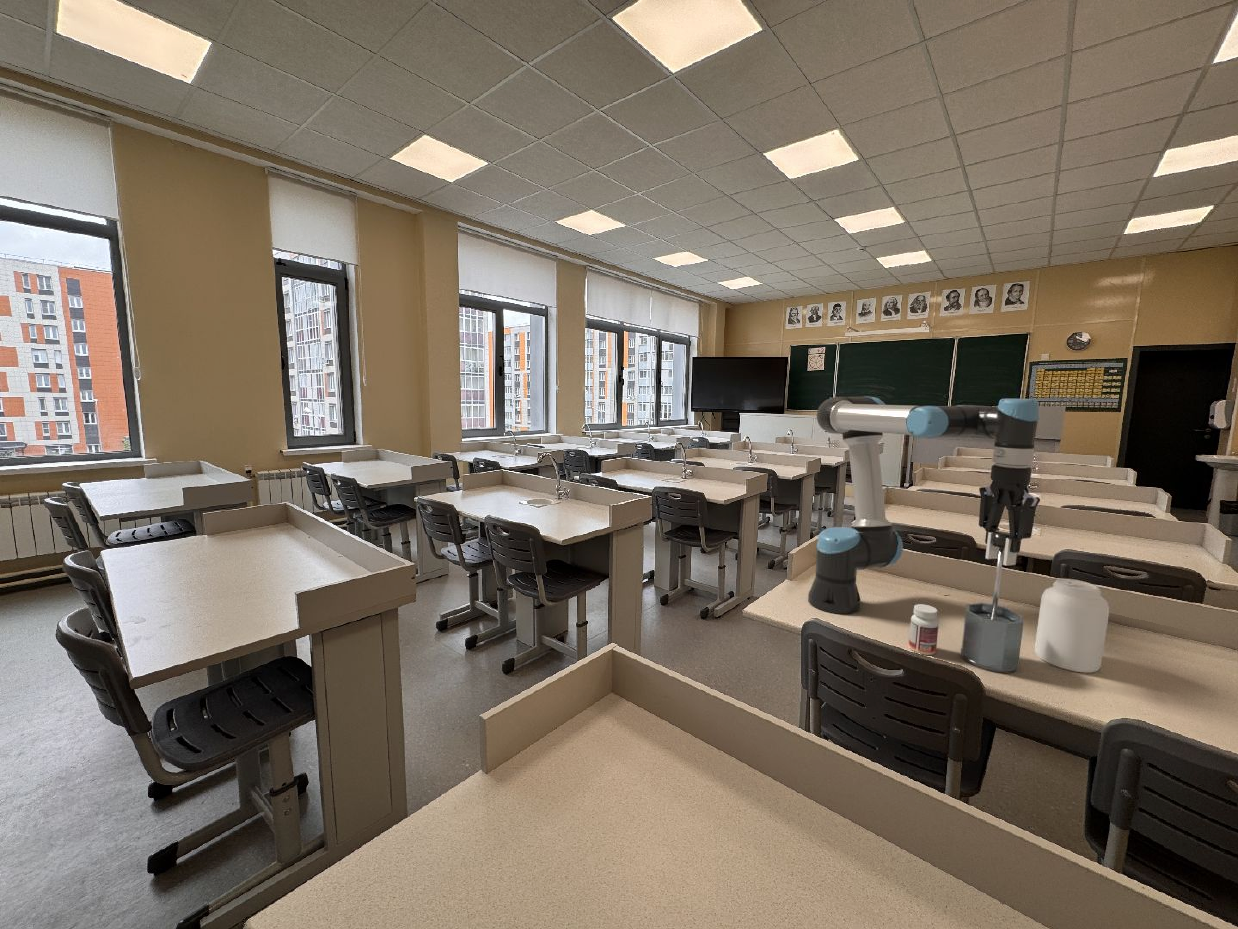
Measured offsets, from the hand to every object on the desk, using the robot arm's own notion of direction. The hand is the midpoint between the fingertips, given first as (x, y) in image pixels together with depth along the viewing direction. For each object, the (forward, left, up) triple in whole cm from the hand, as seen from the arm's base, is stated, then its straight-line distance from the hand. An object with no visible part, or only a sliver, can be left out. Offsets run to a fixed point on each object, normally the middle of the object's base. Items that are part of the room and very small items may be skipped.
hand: (1000, 561), depth 125 cm
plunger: (0, 0, -16) cm, 16 cm away
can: (+4, +19, -26) cm, 32 cm away
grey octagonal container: (0, +1, -26) cm, 26 cm away
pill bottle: (-8, -12, -26) cm, 30 cm away
